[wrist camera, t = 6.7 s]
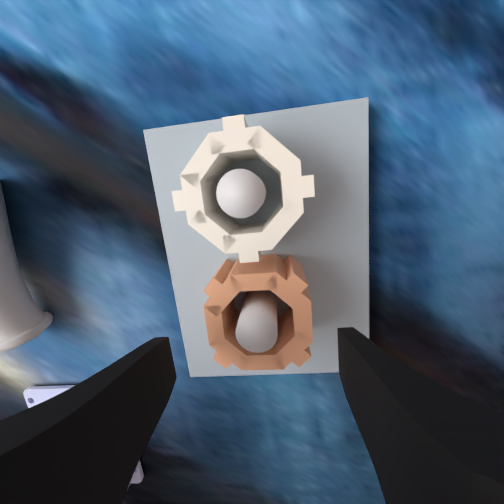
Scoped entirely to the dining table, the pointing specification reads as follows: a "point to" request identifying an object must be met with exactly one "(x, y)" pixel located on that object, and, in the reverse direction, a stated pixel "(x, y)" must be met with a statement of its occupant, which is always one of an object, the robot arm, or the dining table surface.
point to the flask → (16, 295)
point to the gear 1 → (211, 171)
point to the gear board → (293, 242)
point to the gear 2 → (288, 323)
